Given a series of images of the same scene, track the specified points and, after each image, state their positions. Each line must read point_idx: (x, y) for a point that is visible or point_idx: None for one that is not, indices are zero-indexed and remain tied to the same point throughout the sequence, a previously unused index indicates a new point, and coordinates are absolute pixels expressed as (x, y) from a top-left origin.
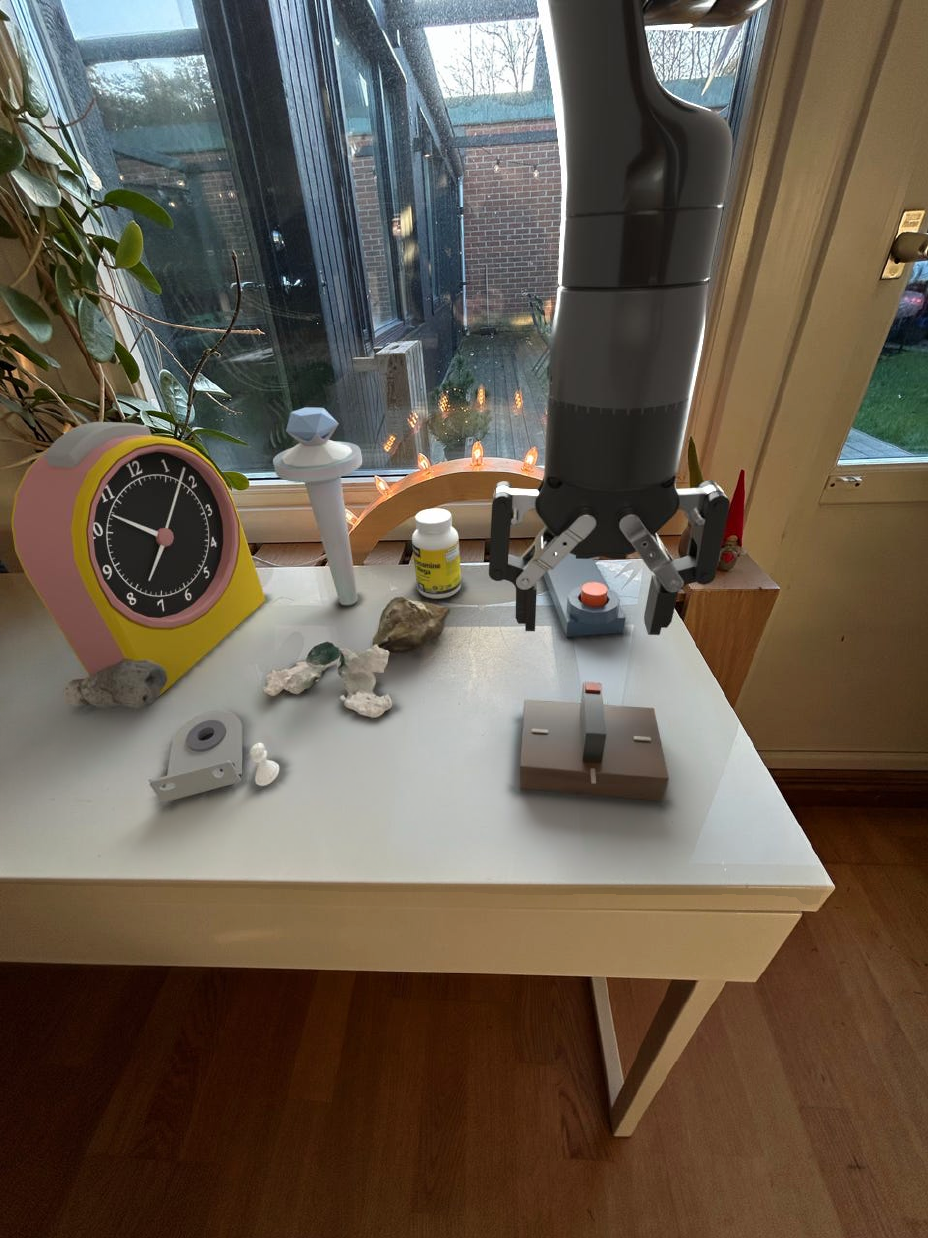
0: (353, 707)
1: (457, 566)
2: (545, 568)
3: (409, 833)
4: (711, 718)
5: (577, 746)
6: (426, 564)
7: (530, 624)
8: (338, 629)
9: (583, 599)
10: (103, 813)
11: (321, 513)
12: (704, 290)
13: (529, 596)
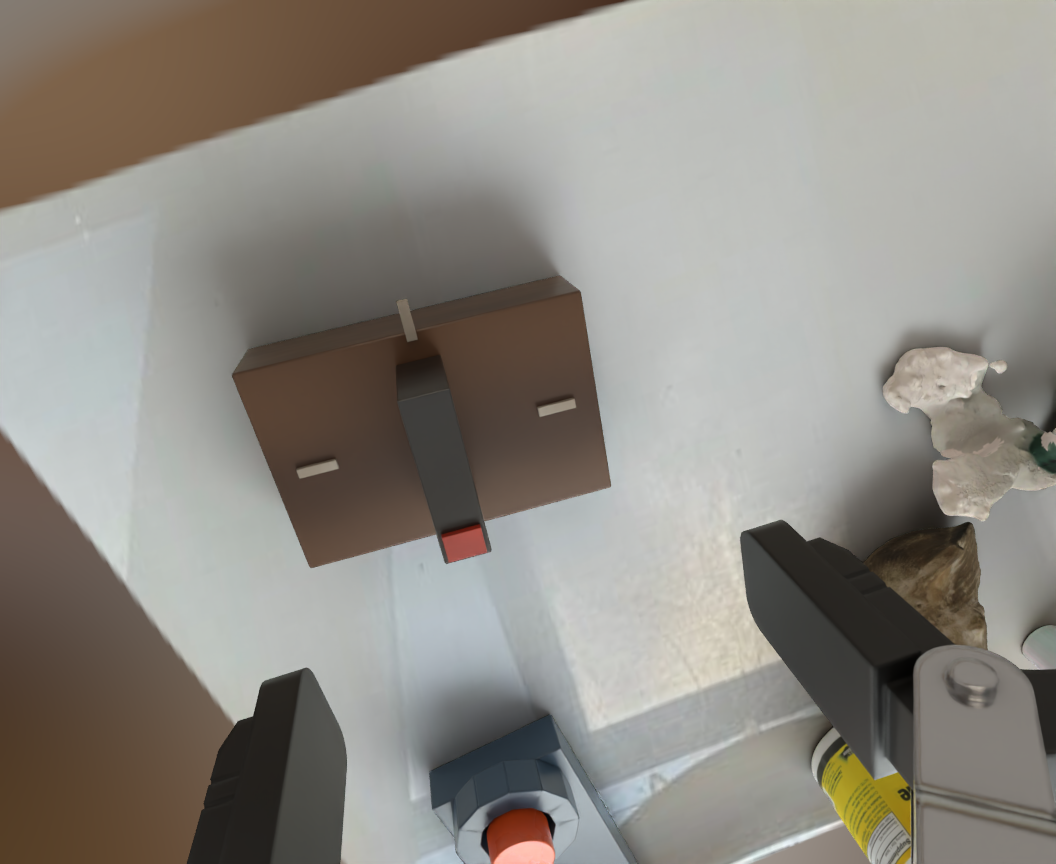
0: (965, 355)
1: (852, 812)
2: (942, 793)
3: (763, 79)
4: (188, 607)
5: (461, 394)
6: None
7: (781, 540)
8: (1042, 556)
9: (541, 822)
10: None
11: None
12: None
13: (880, 631)
